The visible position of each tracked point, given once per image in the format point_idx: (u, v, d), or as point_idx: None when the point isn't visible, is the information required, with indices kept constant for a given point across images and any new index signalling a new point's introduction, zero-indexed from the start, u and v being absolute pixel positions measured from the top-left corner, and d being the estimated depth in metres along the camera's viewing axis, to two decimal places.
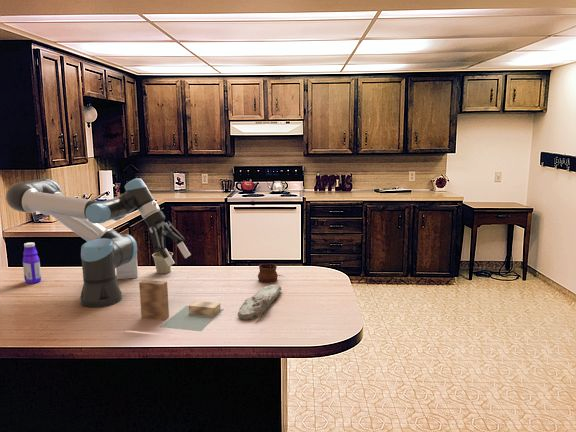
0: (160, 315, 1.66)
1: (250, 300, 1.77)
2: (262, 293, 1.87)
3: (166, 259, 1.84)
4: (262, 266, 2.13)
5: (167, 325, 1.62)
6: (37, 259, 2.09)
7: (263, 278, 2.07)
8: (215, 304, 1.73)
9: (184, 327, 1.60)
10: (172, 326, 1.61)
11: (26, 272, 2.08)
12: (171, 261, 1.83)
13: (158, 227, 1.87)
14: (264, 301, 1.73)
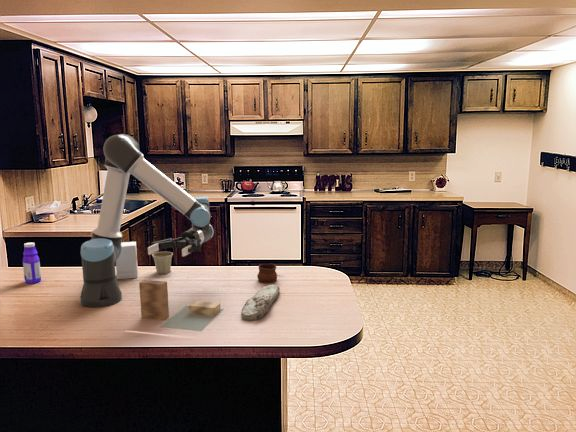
0: (160, 315, 1.66)
1: (251, 301, 1.77)
2: (262, 293, 1.87)
3: (187, 249, 1.75)
4: (262, 266, 2.13)
5: (167, 325, 1.62)
6: (37, 259, 2.09)
7: (263, 278, 2.07)
8: (215, 304, 1.73)
9: (184, 327, 1.60)
10: (172, 326, 1.61)
11: (26, 272, 2.08)
12: (185, 254, 1.74)
13: None
14: (266, 301, 1.73)
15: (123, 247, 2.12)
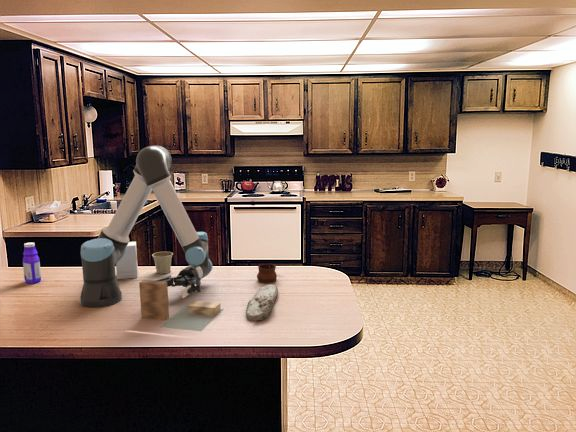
0: (160, 315, 1.66)
1: (254, 301, 1.77)
2: (262, 293, 1.87)
3: (186, 290, 1.74)
4: (261, 266, 2.12)
5: (167, 325, 1.62)
6: (37, 259, 2.09)
7: (262, 278, 2.07)
8: (215, 304, 1.73)
9: (184, 327, 1.60)
10: (172, 326, 1.61)
11: (26, 272, 2.08)
12: (184, 295, 1.73)
13: None
14: (270, 301, 1.73)
15: None
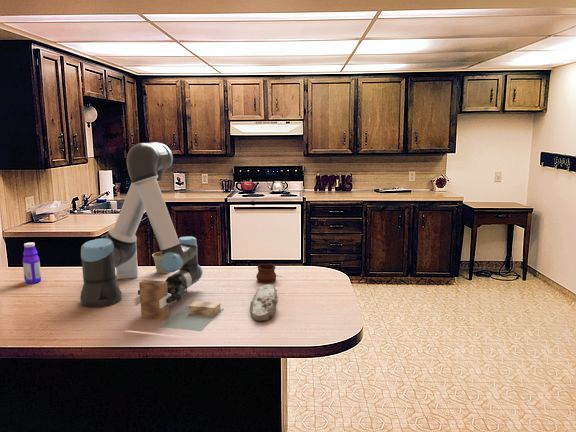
0: (160, 315, 1.66)
1: (257, 301, 1.76)
2: (262, 293, 1.86)
3: (165, 299, 1.65)
4: (261, 266, 2.12)
5: (167, 325, 1.62)
6: (37, 259, 2.09)
7: (262, 278, 2.06)
8: (215, 304, 1.73)
9: (184, 327, 1.60)
10: (172, 326, 1.61)
11: (26, 272, 2.08)
12: (163, 305, 1.63)
13: None
14: (274, 301, 1.73)
15: None
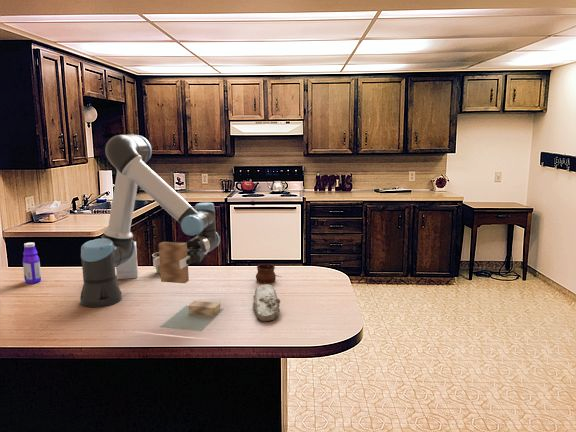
0: (180, 277, 1.64)
1: (260, 301, 1.76)
2: (262, 294, 1.86)
3: (185, 260, 1.62)
4: (260, 266, 2.12)
5: (167, 325, 1.62)
6: (37, 259, 2.09)
7: (261, 278, 2.06)
8: (215, 304, 1.73)
9: (184, 327, 1.60)
10: (172, 326, 1.61)
11: (26, 272, 2.08)
12: (183, 266, 1.61)
13: None
14: (278, 300, 1.73)
15: None
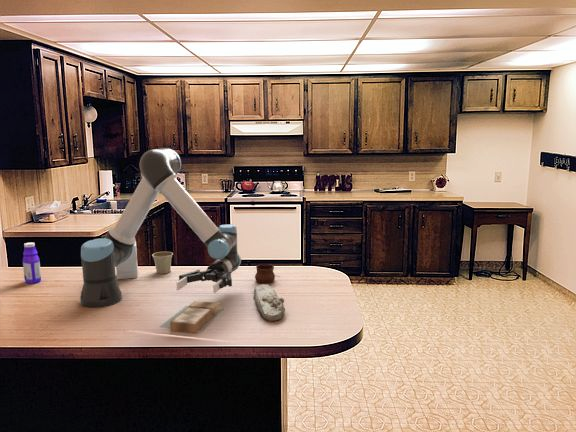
0: None
1: (263, 301, 1.76)
2: (262, 294, 1.86)
3: (218, 284, 1.66)
4: (260, 267, 2.12)
5: (167, 325, 1.62)
6: (37, 259, 2.09)
7: (260, 278, 2.06)
8: (215, 304, 1.73)
9: None
10: None
11: (26, 272, 2.08)
12: (216, 290, 1.65)
13: None
14: (282, 300, 1.74)
15: None
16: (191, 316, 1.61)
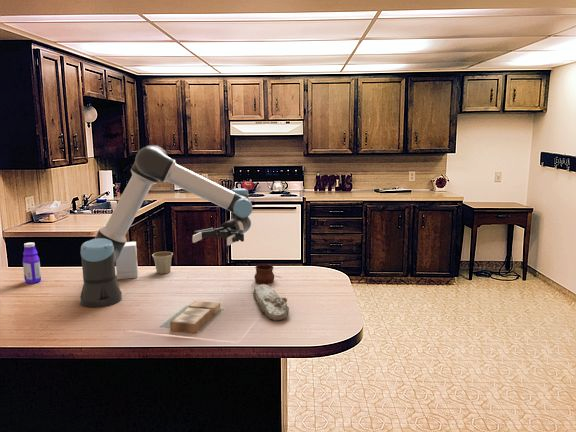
0: None
1: (266, 301, 1.76)
2: (263, 294, 1.86)
3: (231, 238, 1.77)
4: (259, 267, 2.12)
5: (167, 325, 1.62)
6: (37, 259, 2.09)
7: (259, 279, 2.06)
8: (215, 304, 1.73)
9: None
10: None
11: (26, 272, 2.08)
12: (230, 243, 1.76)
13: None
14: (285, 299, 1.74)
15: (123, 247, 2.12)
16: (191, 316, 1.61)
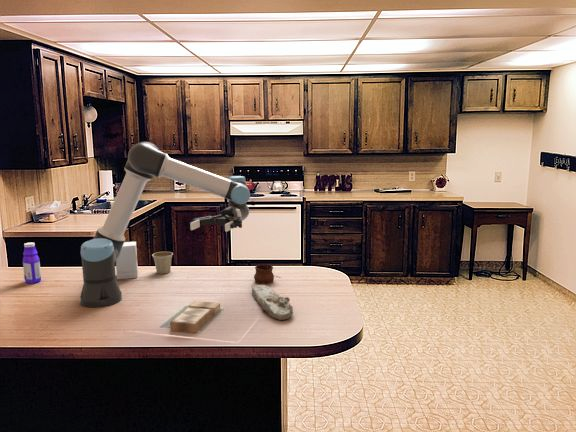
0: None
1: (268, 301, 1.76)
2: (263, 294, 1.86)
3: (229, 225, 1.77)
4: (259, 267, 2.12)
5: (167, 325, 1.62)
6: (37, 259, 2.09)
7: (258, 279, 2.06)
8: (215, 304, 1.73)
9: None
10: None
11: (26, 272, 2.08)
12: (228, 229, 1.76)
13: None
14: (287, 299, 1.75)
15: (123, 247, 2.12)
16: (191, 316, 1.61)
